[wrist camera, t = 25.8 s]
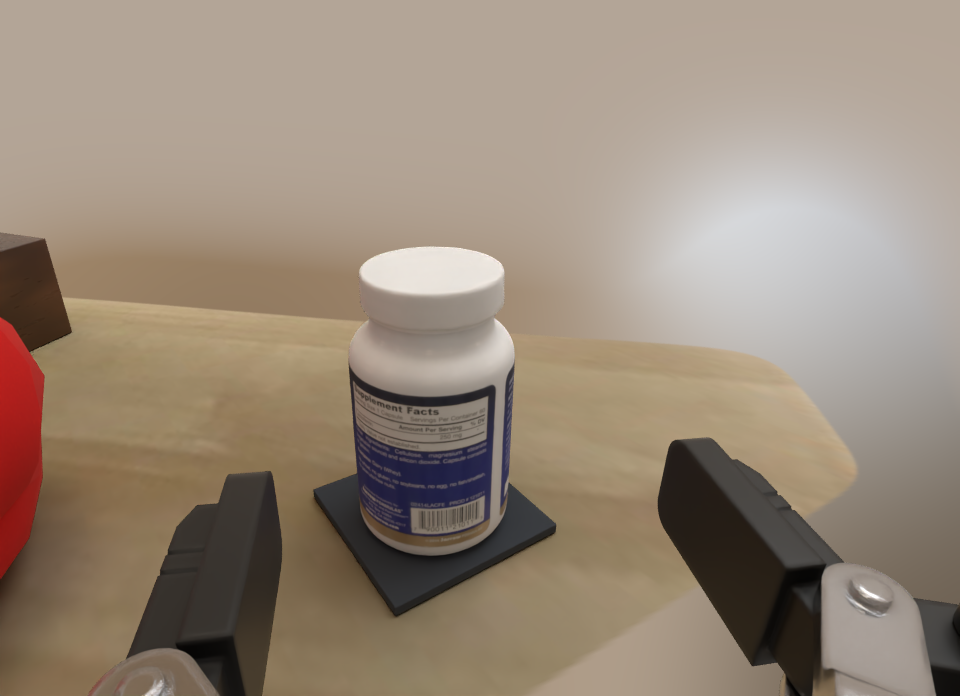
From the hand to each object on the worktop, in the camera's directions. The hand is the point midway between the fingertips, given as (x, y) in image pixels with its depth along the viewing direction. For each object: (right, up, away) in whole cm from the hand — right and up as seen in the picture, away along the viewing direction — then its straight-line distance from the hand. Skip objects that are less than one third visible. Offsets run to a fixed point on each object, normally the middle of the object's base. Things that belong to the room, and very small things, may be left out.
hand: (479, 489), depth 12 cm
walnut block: (-28, +3, +24) cm, 37 cm away
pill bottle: (-2, -4, +12) cm, 12 cm away
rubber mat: (-2, -4, +12) cm, 13 cm away
